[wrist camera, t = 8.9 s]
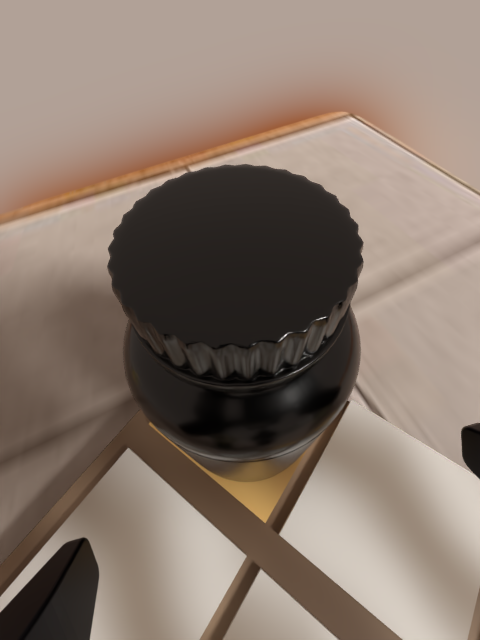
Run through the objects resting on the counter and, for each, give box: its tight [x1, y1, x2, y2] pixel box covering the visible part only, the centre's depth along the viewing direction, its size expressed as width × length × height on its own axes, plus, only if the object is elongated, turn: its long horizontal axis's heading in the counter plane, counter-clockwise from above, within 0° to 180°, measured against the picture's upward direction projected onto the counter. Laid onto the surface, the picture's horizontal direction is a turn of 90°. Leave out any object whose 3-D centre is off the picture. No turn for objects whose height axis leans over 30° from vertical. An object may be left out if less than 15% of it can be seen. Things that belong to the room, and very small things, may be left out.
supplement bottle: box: [107, 164, 363, 482], centre depth 11 cm, size 7×7×12 cm
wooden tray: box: [0, 400, 480, 640], centre depth 13 cm, size 17×20×2 cm
